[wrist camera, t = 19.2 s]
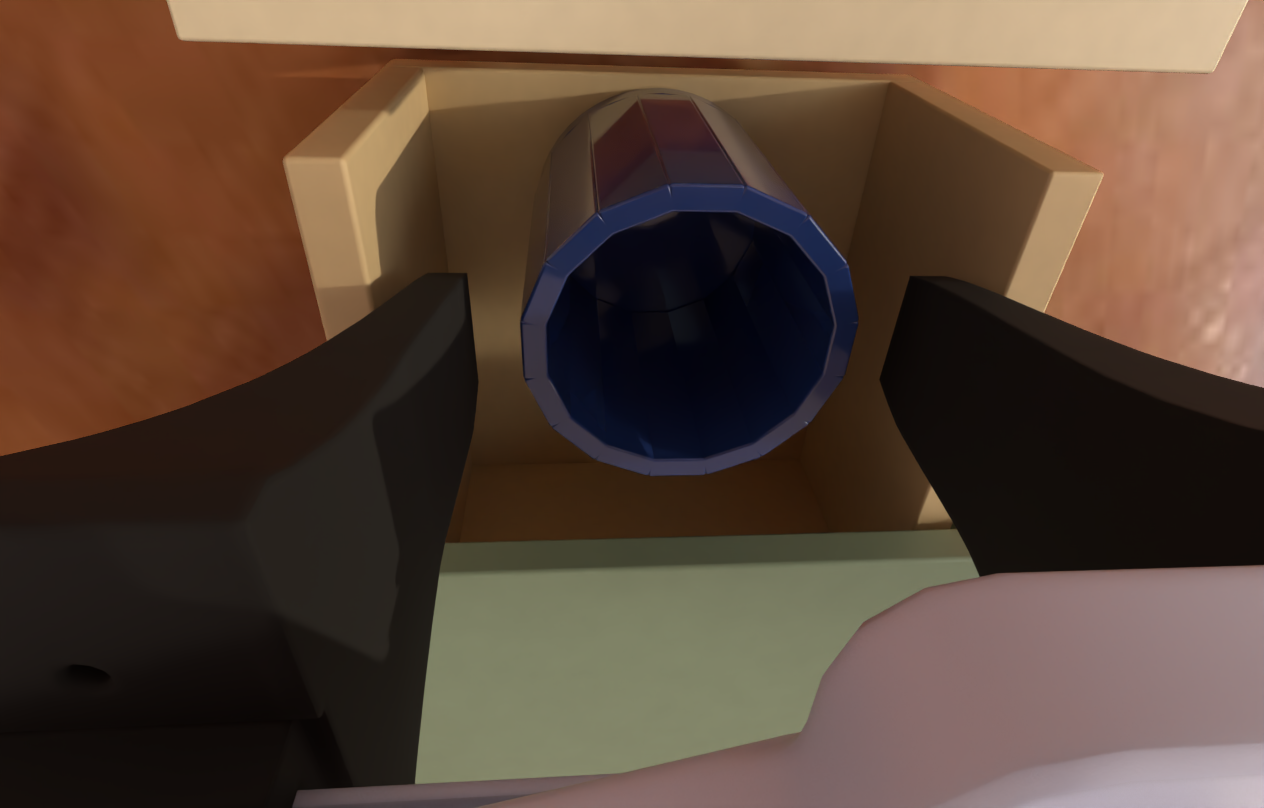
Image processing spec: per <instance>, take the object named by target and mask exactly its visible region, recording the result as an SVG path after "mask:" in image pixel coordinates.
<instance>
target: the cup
mask: <svg viewBox="0 0 1264 808" xmlns="http://www.w3.org/2000/svg"><path fill="white" fill-rule="evenodd" d="M858 320H859V316H858V311H857V305H856V300H855V295H854V290H853V285H852V279H851V274H850V269H849V265H848V264H847V260H846V259H845V258H844V256H843V255H842V254H841V253H840V251H839V250H838V249H837V247H836V246H835V245H834V244H833V242H832V241H831V240H830V238H829V237H828V236H827V235H826V233H825V232H824V231H823V229H822V228H821V227H820V226H819V224H818V223H817V222H816V220H815V219H814V218H813V217H812V215H811V214H810V213H809V211H808V210H807V209H806V208H805V206H804V205H803V204H802V202H801V201H800V200H799V199H798V197H797V196H796V195H795V193H794V192H793V191H792V190H791V188H790V187H789V186H788V184H787V183H786V182H785V181H784V179H783V178H782V177H781V175H780V174H779V173H778V172H777V170H776V169H775V168H774V166H773V165H772V164H771V163H770V161H769V160H768V159H767V157H766V156H765V155H764V154H763V152H762V151H761V150H760V148H759V147H758V146H757V145H756V143H755V142H754V141H753V140H752V138H751V137H750V136H749V135H748V133H747V132H746V131H745V129H744V128H743V127H742V126H741V125H740V123H739V122H738V121H737V120H736V119H734V118H733V116H731V115H730V114H729V113H727V112H726V111H725V110H724V109H722V108H721V107H719V106H718V105H716V104H714V103H713V102H711V101H709V100H707V99H705V98H702V97H700V96H698V95H695V94H693V93H689V92H685V91H681V90H677V89H667V88H645V89H638V90H633V91H627V92H624V93H621V94H618V95H615V96H612V97H610V98H608V99H606V100H604V101H602V102H600V103H598V104H596V105H594V106H593V107H591V108H590V109H588V110H587V111H585V112H584V113H582V114H581V115H580V116H579V117H578V118H577V119H575V120H574V121H573V122H572V123H571V124H570V125H569V126H568V127H567V128H566V129H565V131H564V132H563V133H562V134H561V135H560V137H559V138H558V139H557V141H556V142H555V144H554V146H553V147H552V149H551V150H550V152H549V154H548V156H547V159H546V161H545V163H544V165H543V168H542V171H541V174H540V178H539V181H538V187H537V190H536V192H535V195H534V201H533V210H532V219H531V228H530V237H529V246H528V255H527V263H526V272H525V281H524V290H523V299H522V308H521V316H520V336H521V353H522V369H523V377H524V381H525V383H526V384H527V386H528V388H529V390H530V392H531V393H532V395H533V397H534V399H535V400H536V402H537V404H538V406H539V408H540V409H541V411H542V413H543V415H544V416H545V418H546V420H547V422H548V423H549V425H550V426H551V427H552V428H553V429H554V430H555V431H556V432H558V433H559V434H560V435H562V436H563V437H564V438H566V439H567V440H568V441H570V442H571V443H572V444H574V445H575V446H576V447H578V448H579V449H580V450H582V451H583V452H584V453H586V454H587V455H588V456H590V457H591V458H592V459H595V460H596V461H599V462H602V463H605V464H609V465H612V466H615V467H619V468H622V469H625V470H629V471H632V472H635V473H639V474H642V475H645V476H648V475H649V476H693V475H705V473H706V474H711V473H714V472H717V471H721V470H724V469H727V468H730V467H733V466H736V465H739V464H742V463H745V462H749V461H752V460H755V459H758V458H760V457H761V456H764V455H766V454H767V453H769V452H770V451H771V450H773V449H774V448H776V447H777V446H779V445H780V444H782V443H783V442H784V441H786V440H787V439H789V438H790V437H792V436H793V435H795V434H796V433H797V432H799V431H800V430H802V429H803V428H805V427H806V426H808V424H809V423H810V422H812V420H813V419H814V418H815V416H816V415H817V414H818V412H819V411H820V410H821V408H822V407H823V405H824V404H825V403H826V401H827V400H828V399H829V397H830V396H831V395H832V393H833V392H834V391H835V389H836V388H837V387H838V385H839V384H840V383H841V381H842V380H843V376H845V374H846V370H847V366H848V362H849V358H850V355H851V351H852V347H853V343H854V339H855V336H856V332H857V328H858V324H859V322H858Z"/></svg>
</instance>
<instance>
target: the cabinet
mask: <svg viewBox="0 0 1264 808" xmlns="http://www.w3.org/2000/svg"><path fill="white" fill-rule="evenodd" d="M977 577H980V576H979V574H978V572H977V570H976V567H975V565H974V563H973V560H972V558H971V556H970V554H969V551H968V549H967V547H966V546H965V544H964V542H963V540H962V538H961V536H960V534H959V532H958V530H957V529H956V527H955V525H954V523H952V525H951V528H950V529H939V530H902V531H865V532H828V533H791V534H754V535H717V536H680V537H643V538H605V539H568V540H531V541H494V542H457V543H445V545H444V550H443V555H442V560H441V565H440V572H439V580H438V587H437V594H436V601H435V609H434V616H433V624H432V632H431V640H430V648H429V656H428V664H427V673H426V681H425V690H424V699H423V709H422V718H421V727H420V737H419V746H418V756H417V767H416V777H415V784H427V783H446V782H465V781H484V780H503V779H522V778H541V777H560V776H579V775H598V774H617V773H625V772H629V771H633V770H638V769H642V768H646V767H650V766H655V765H659V764H663V763H667V762H672V761H676V760H680V759H685V758H689V757H693V756H697V755H702V754H706V753H710V752H714V751H719V750H723V749H727V748H731V747H736V746H740V745H744V744H748V743H753V742H757V741H761V740H765V739H770V738H774V737H778V736H782V735H787V734H792V733H797V732H801V731H802V729H803V728H804V726H805V724H806V722H807V720H808V717H809V714H810V711H811V708H812V705H813V702H814V699H815V696H816V693H817V690H818V687H819V684H820V681H821V678H822V676H823V675H824V673H825V672H826V670H827V669H828V668H829V666H830V665H831V664H832V662H833V661H834V660H835V658H836V657H837V656H838V654H839V653H840V652H841V651H842V649H843V648H844V647H845V645H846V644H847V643H848V641H849V640H850V639H851V638H852V636H853V635H854V634H855V632H856V631H857V630H858V628H859V627H860V626H861V625H862V623H863V622H864V621H866V620H868V619H870V618H872V617H873V616H875V615H877V614H879V613H881V612H882V611H884V610H886V609H888V608H890V607H892V606H893V605H895V604H897V603H899V602H901V601H902V600H904V599H906V598H908V597H910V596H911V595H913V594H915V593H917V592H919V591H920V590H922V589H924V588H927V587H932V586H937V585H942V584H947V583H952V582H957V581H962V580H967V579H972V578H977Z"/></svg>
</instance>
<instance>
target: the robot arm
mask: <svg viewBox="0 0 1264 808" xmlns="http://www.w3.org/2000/svg"><path fill="white" fill-rule="evenodd" d="M879 381H880V383H881V386H882V389H883V392H884V395H885V398H886V400H887V403H888V406H889V409H890V411H891V413H892V416H893V418H894V421H895V423H896V426H897V428H898V429H899V431H900V433H901V435H902V437H903V439H904V440H905V442H906V444H907V445H908V447H909V449H910V451H911V452H912V454H913V456H914V458H915V459H916V461H917V463H918V464H919V466H920V468H921V469H922V471H923V473H924V475H925V476H926V478H927V480H928V481H929V483H930V485H931V486H932V488H933V490H934V491H935V493H936V495H937V496H938V498H939V500H940V501H941V503H942V505H943V506H944V508H945V510H946V512H947V513H948V515H949V517H950V518H951V520H952V522H953V523H954V525H955V527H956V529H957V530H958V532H959V534H960V536H961V538H962V540H963V542H964V544H965V546H966V547H967V549H968V551H969V554H970V556H971V558H972V560H973V563H974V565H975V567H976V570H977V572H978V574H979V576H980V577H977V578H972V579H967V580H962V581H957V582H952V583H947V584H942V585H937V586H932V587H927V588H924V589H922V590H920V591H919V592H917V593H915V594H913V595H911V596H910V597H908V598H906V599H904V600H902V601H901V602H899V603H897V604H895V605H893V606H892V607H890V608H888V609H886V610H884V611H882V612H881V613H879V614H877V615H875V616H873V617H872V618H870V619H868V620H866V621H864V622H863V623H862V625H861V626H860V627H859V628H858V630H857V631H856V632H855V634H854V635H853V636H852V638H851V639H850V640H849V641H848V643H847V644H846V645H845V647H844V648H843V649H842V651H841V652H840V653H839V654H838V656H837V657H836V658H835V660H834V661H833V662H832V664H831V665H830V666H829V668H828V669H827V670H826V672H825V673H824V675H823V676H822V678H821V681H820V684H819V687H818V690H817V693H816V696H815V699H814V702H813V705H812V708H811V711H810V714H809V717H808V720H807V722H806V724H805V726H804V728H803V729H802V731H801V732H797V733H792V734H787V735H782V736H778V737H774V738H770V739H765V740H761V741H757V742H753V743H748V744H744V745H740V746H736V747H731V748H727V749H723V750H719V751H714V752H710V753H706V754H702V755H697V756H693V757H689V758H685V759H680V760H676V761H672V762H667V763H663V764H659V765H655V766H650V767H646V768H642V769H638V770H633V771H629V772H625V773H617V774H598V775H579V776H560V777H541V778H522V779H503V780H484V781H465V782H446V783H427V784H415V777H416V767H417V756H418V746H419V737H420V727H421V718H422V709H423V699H424V690H425V681H426V673H427V664H428V656H429V648H430V640H431V632H432V624H433V616H434V609H435V601H436V594H437V587H438V580H439V572H440V565H441V560H442V555H443V550H444V545H445V541H446V536H447V533H448V529H449V525H450V521H451V517H452V513H453V510H454V506H455V502H456V498H457V494H458V490H459V486H460V483H461V479H462V475H463V471H464V467H465V463H466V459H467V455H468V451H469V447H470V443H471V439H472V435H473V431H474V422H475V414H476V404H477V394H478V384H479V381H478V371H477V361H476V352H475V342H474V333H473V323H472V314H471V304H470V295H469V285H468V276H467V273H426V274H424V275H423V276H421V277H419V278H418V279H416V280H415V281H413V282H412V283H411V284H409V285H408V286H407V287H405V288H404V289H402V290H401V291H400V292H398V293H397V294H396V295H394V296H393V297H392V298H390V299H389V300H387V301H386V302H385V303H383V304H382V305H381V306H379V307H378V308H376V309H375V310H374V311H372V312H371V313H369V314H368V315H367V316H365V317H364V318H362V319H361V320H359V321H358V322H356V323H355V324H353V325H352V326H350V327H348V328H347V329H345V330H344V331H342V332H341V333H339V334H337V335H336V336H334V337H333V338H331V339H329V340H328V341H326V342H325V343H323V344H322V345H320V346H318V347H317V348H315V349H313V350H312V351H310V352H308V353H306V354H304V355H303V356H301V357H299V358H297V359H295V360H293V361H291V362H289V363H287V364H285V365H283V366H281V367H279V368H277V369H275V370H273V371H271V372H269V373H267V374H265V375H263V376H261V377H258V378H256V379H254V380H252V381H250V382H247V383H245V384H242V385H240V386H237V387H234V388H232V389H229V390H227V391H224V392H222V393H219V394H217V395H214V396H212V397H209V398H206V399H204V400H201V401H199V402H196V403H194V404H191V405H189V406H186V407H183V408H180V409H177V410H174V411H171V412H168V413H165V414H162V415H159V416H156V417H152V418H149V419H146V420H143V421H140V422H136V423H133V424H129V425H126V426H122V427H119V428H116V429H112V430H109V431H105V432H102V433H98V434H94V435H90V436H86V437H83V438H79V439H75V440H71V441H66V442H62V443H57V444H53V445H48V446H44V447H40V448H35V449H31V450H26V451H22V452H18V453H13V454H9V455H4V456H0V808H1264V388H1262V387H1258V386H1254V385H1250V384H1246V383H1242V382H1238V381H1235V380H1231V379H1227V378H1224V377H1220V376H1216V375H1213V374H1209V373H1206V372H1203V371H1200V370H1197V369H1193V368H1190V367H1187V366H1184V365H1181V364H1177V363H1174V362H1171V361H1168V360H1164V359H1161V358H1158V357H1155V356H1153V355H1150V354H1147V353H1144V352H1141V351H1138V350H1135V349H1133V348H1130V347H1127V346H1125V345H1122V344H1119V343H1117V342H1114V341H1112V340H1109V339H1106V338H1104V337H1101V336H1098V335H1096V334H1093V333H1091V332H1088V331H1086V330H1083V329H1081V328H1078V327H1076V326H1074V325H1071V324H1069V323H1066V322H1064V321H1061V320H1059V319H1057V318H1054V317H1052V316H1050V315H1047V314H1045V313H1043V312H1040V311H1038V310H1036V309H1033V308H1031V307H1029V306H1026V305H1024V304H1022V303H1019V302H1017V301H1014V300H1012V299H1010V298H1007V297H1005V296H1003V295H1000V294H998V293H995V292H993V291H990V290H988V289H985V288H983V287H980V286H977V285H975V284H972V283H969V282H966V281H963V280H959V279H956V278H952V277H947V276H910V277H909V281H908V284H907V287H906V291H905V294H904V298H903V301H902V304H901V308H900V311H899V314H898V318H897V321H896V325H895V328H894V331H893V335H892V338H891V341H890V345H889V348H888V352H887V355H886V358H885V362H884V365H883V368H882V372H881V375H880V379H879Z"/></svg>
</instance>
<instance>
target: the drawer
mask: <svg viewBox="0 0 1264 808" xmlns="http://www.w3.org/2000/svg"><path fill="white" fill-rule="evenodd" d="M1247 2H1248V0H167V4H168V7H169V10H170V14H171V17H172V20H173V23H174V27H175V30H176V33H177V36H178V38H179V39H181V40H183V41H199V42H230V43H261V44H292V45H323V46H355V47H386V48H417V49H448V50H479V51H511V52H542V53H573V54H604V55H635V56H667V57H698V58H729V59H760V60H791V61H822V62H854V63H885V64H916V65H947V66H978V67H1010V68H1041V69H1072V70H1103V71H1134V72H1166V73H1197V74H1208V73H1212V72H1213V71H1214V70H1215V68H1216V66H1217V64H1218V62H1219V60H1220V58H1221V56H1222V54H1223V51H1224V49H1225V47H1226V45H1227V43H1228V41H1229V39H1230V37H1231V35H1232V33H1233V31H1234V29H1235V27H1236V25H1237V23H1238V20H1239V18H1240V16H1241V14H1242V12H1243V10H1244V8H1245V6H1246V4H1247ZM645 88H667V89H677V90H681V91H685V92H689V93H693V94H695V95H698V96H700V97H702V98H705V99H707V100H709V101H711V102H713V103H714V104H716V105H718V106H719V107H721V108H722V109H724V110H725V111H726V112H727V113H729V114H730V115H731V116H733V118H734V119H736V120H737V121H738V122H739V123H740V125H741V126H742V127H743V128H744V129H745V131H746V132H747V133H748V135H749V136H750V137H751V138H752V140H753V141H754V142H755V143H756V145H757V146H758V147H759V148H760V150H761V151H762V152H763V154H764V155H765V156H766V157H767V159H768V160H769V161H770V163H771V164H772V165H773V166H774V168H775V169H776V170H777V172H778V173H779V174H780V175H781V177H782V178H783V179H784V181H785V182H786V183H787V184H788V186H789V187H790V188H791V190H792V191H793V192H794V193H795V195H796V196H797V197H798V199H799V200H800V201H801V202H802V204H803V205H804V206H805V208H806V209H807V210H808V211H809V213H810V214H811V215H812V217H813V218H814V219H815V220H816V222H817V223H818V224H819V226H820V227H821V228H822V229H823V231H824V232H825V233H826V235H827V236H828V237H829V238H830V240H831V241H832V242H833V244H834V245H835V246H836V247H837V249H838V250H839V251H840V253H841V254H842V255H843V256H844V258H845V259H846V260H847V264H848V265H849V269H850V274H851V279H852V285H853V290H854V295H855V300H856V305H857V311H858V316H859V320H858V322H859V324H858V328H857V332H856V336H855V339H854V343H853V347H852V351H851V355H850V358H849V362H848V366H847V370H846V374H845V376H843V380H842V381H841V383H840V384H839V385H838V387H837V388H836V389H835V391H834V392H833V393H832V395H831V396H830V397H829V399H828V400H827V401H826V403H825V404H824V405H823V407H822V408H821V410H820V411H819V412H818V414H817V415H816V416H815V418H814V419H813V420H812V422H810V423H809V424H808V426H806V427H805V428H803V429H802V430H800V431H799V432H797V433H796V434H795V435H793V436H792V437H790V438H789V439H787V440H786V441H784V442H783V443H782V444H780V445H779V446H777V447H776V448H774V449H773V450H771V451H770V452H769V453H767V454H766V455H764V456H761V457H760V458H758V459H755V460H752V461H749V462H745V463H742V464H739V465H736V466H733V467H730V468H727V469H724V470H721V471H717V472H714V473H711V474H706V473H705V475H693V476H649V475H648V476H645V475H642V474H639V473H635V472H632V471H629V470H625V469H622V468H619V467H615V466H612V465H609V464H605V463H602V462H599V461H596V460H595V459H592V458H591V457H590V456H588V455H587V454H586V453H584V452H583V451H582V450H580V449H579V448H578V447H576V446H575V445H574V444H572V443H571V442H570V441H568V440H567V439H566V438H564V437H563V436H562V435H560V434H559V433H558V432H556V431H555V430H554V429H553V428H552V427H551V426H550V425H549V423H548V422H547V420H546V418H545V416H544V415H543V413H542V411H541V409H540V408H539V406H538V404H537V402H536V400H535V399H534V397H533V395H532V393H531V392H530V390H529V388H528V386H527V384H526V383H525V381H524V377H523V369H522V353H521V336H520V316H521V308H522V299H523V290H524V281H525V272H526V263H527V255H528V246H529V237H530V228H531V219H532V210H533V201H534V195H535V192H536V190H537V187H538V181H539V178H540V174H541V171H542V168H543V165H544V163H545V161H546V159H547V156H548V154H549V152H550V150H551V149H552V147H553V146H554V144H555V142H556V141H557V139H558V138H559V137H560V135H561V134H562V133H563V132H564V131H565V129H566V128H567V127H568V126H569V125H570V124H571V123H572V122H573V121H574V120H575V119H577V118H578V117H579V116H580V115H581V114H582V113H584V112H585V111H587V110H588V109H590V108H591V107H593V106H594V105H596V104H598V103H600V102H602V101H604V100H606V99H608V98H610V97H612V96H615V95H618V94H621V93H624V92H627V91H633V90H638V89H645ZM283 166H284V170H285V174H286V178H287V182H288V186H289V190H290V194H291V198H292V202H293V206H294V210H295V214H296V218H297V222H298V226H299V230H300V234H301V238H302V242H303V246H304V250H305V254H306V258H307V263H308V267H309V271H310V275H311V279H312V283H313V287H314V291H315V295H316V299H317V303H318V307H319V311H320V315H321V319H322V323H323V327H324V331H325V335H326V339H327V341H328V340H329V339H331V338H333V337H334V336H336V335H337V334H339V333H341V332H342V331H344V330H345V329H347V328H348V327H350V326H352V325H353V324H355V323H356V322H358V321H359V320H361V319H362V318H364V317H365V316H367V315H368V314H369V313H371V312H372V311H374V310H375V309H376V308H378V307H379V306H381V305H382V304H383V303H385V302H386V301H387V300H389V299H390V298H392V297H393V296H394V295H396V294H397V293H398V292H400V291H401V290H402V289H404V288H405V287H407V286H408V285H409V284H411V283H412V282H413V281H415V280H416V279H418V278H419V277H421V276H423V275H424V274H426V273H467V276H468V285H469V295H470V304H471V314H472V323H473V333H474V342H475V352H476V361H477V371H478V381H479V384H478V394H477V404H476V414H475V422H474V431H473V435H472V439H471V443H470V447H469V451H468V455H467V459H466V463H465V467H464V471H463V475H462V479H461V483H460V486H459V490H458V494H457V498H456V502H455V506H454V510H453V513H452V517H451V521H450V525H449V529H448V533H447V536H446V541H445V543H457V542H494V541H531V540H568V539H605V538H643V537H680V536H717V535H754V534H791V533H828V532H865V531H902V530H939V529H950V528H951V525H952V523H953V522H952V520H951V518H950V517H949V515H948V513H947V512H946V510H945V508H944V506H943V505H942V503H941V501H940V500H939V498H938V496H937V495H936V493H935V491H934V490H933V488H932V486H931V485H930V483H929V481H928V480H927V478H926V476H925V475H924V473H923V471H922V469H921V468H920V466H919V464H918V463H917V461H916V459H915V458H914V456H913V454H912V452H911V451H910V449H909V447H908V445H907V444H906V442H905V440H904V439H903V437H902V435H901V433H900V431H899V429H898V428H897V426H896V423H895V421H894V418H893V416H892V413H891V411H890V409H889V406H888V403H887V400H886V398H885V395H884V392H883V389H882V386H881V383H880V381H879V379H880V375H881V372H882V368H883V365H884V362H885V358H886V355H887V352H888V348H889V345H890V341H891V338H892V335H893V331H894V328H895V325H896V321H897V318H898V314H899V311H900V308H901V304H902V301H903V298H904V294H905V291H906V287H907V284H908V281H909V277H910V276H947V277H952V278H956V279H959V280H963V281H966V282H969V283H972V284H975V285H977V286H980V287H983V288H985V289H988V290H990V291H993V292H995V293H998V294H1000V295H1003V296H1005V297H1007V298H1010V299H1012V300H1014V301H1017V302H1019V303H1022V304H1024V305H1026V306H1029V307H1031V308H1033V309H1036V310H1038V311H1040V312H1043V313H1044V312H1045V309H1046V307H1047V305H1048V302H1049V300H1050V298H1051V295H1052V293H1053V291H1054V289H1055V286H1056V284H1057V282H1058V279H1059V277H1060V275H1061V272H1062V270H1063V268H1064V266H1065V263H1066V261H1067V259H1068V256H1069V254H1070V252H1071V249H1072V247H1073V245H1074V243H1075V240H1076V238H1077V236H1078V233H1079V231H1080V229H1081V226H1082V224H1083V222H1084V220H1085V217H1086V215H1087V213H1088V210H1089V208H1090V206H1091V203H1092V201H1093V199H1094V197H1095V194H1096V192H1097V190H1098V187H1099V185H1100V183H1101V180H1102V178H1103V173H1102V172H1100V171H1098V170H1096V169H1095V168H1093V167H1091V166H1089V165H1087V164H1085V163H1083V162H1081V161H1079V160H1077V159H1075V158H1073V157H1071V156H1069V155H1067V154H1065V153H1063V152H1061V151H1059V150H1057V149H1055V148H1053V147H1051V146H1049V145H1047V144H1045V143H1043V142H1041V141H1039V140H1037V139H1035V138H1033V137H1031V136H1029V135H1027V134H1025V133H1023V132H1022V131H1020V130H1018V129H1016V128H1014V127H1012V126H1010V125H1008V124H1006V123H1004V122H1002V121H1000V120H998V119H996V118H994V117H992V116H990V115H988V114H986V113H984V112H982V111H980V110H978V109H976V108H974V107H972V106H970V105H968V104H966V103H964V102H962V101H960V100H958V99H956V98H954V97H952V96H950V95H949V94H947V93H945V92H943V91H941V90H939V89H937V88H935V87H933V86H931V85H929V84H927V83H925V82H922V81H920V80H918V79H916V78H914V77H912V76H910V75H904V74H872V73H839V72H807V71H774V70H742V69H709V68H677V67H644V66H612V65H579V64H547V63H514V62H482V61H449V60H416V59H392V60H391V61H389V62H388V63H387V64H386V65H385V66H384V67H383V68H382V69H381V70H380V71H379V72H378V73H376V74H375V75H374V76H373V77H372V78H371V79H370V80H369V81H368V82H367V83H365V84H364V85H363V86H362V87H361V88H360V89H359V90H358V91H357V92H355V93H354V94H353V95H352V96H351V97H350V98H349V99H348V100H347V101H345V102H344V103H343V104H342V105H341V106H340V107H339V108H338V109H337V110H335V111H334V112H333V113H332V114H331V115H330V116H329V117H328V118H327V119H325V120H324V121H323V122H322V123H321V124H320V125H319V126H318V127H317V128H315V129H314V130H313V131H312V132H311V133H310V134H309V135H308V136H307V137H306V138H304V139H303V140H302V141H301V142H300V143H299V144H298V145H297V146H296V147H294V148H293V149H292V150H291V151H290V152H289V153H288V154H287V155H286V156H284V157H283Z"/></svg>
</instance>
